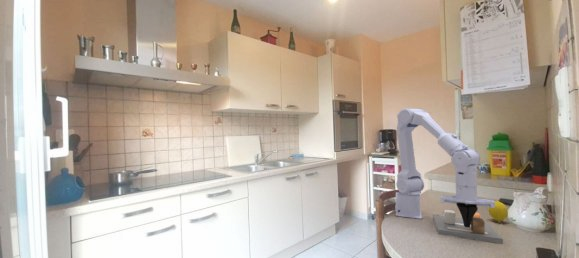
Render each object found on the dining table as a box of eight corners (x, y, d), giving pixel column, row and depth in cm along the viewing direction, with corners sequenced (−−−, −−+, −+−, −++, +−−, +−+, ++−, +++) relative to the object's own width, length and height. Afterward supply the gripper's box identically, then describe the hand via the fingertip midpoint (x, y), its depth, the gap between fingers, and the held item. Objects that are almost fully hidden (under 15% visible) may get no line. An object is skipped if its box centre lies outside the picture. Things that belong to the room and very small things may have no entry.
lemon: (511, 225, 89) (511, 203, 89) (494, 224, 90) (494, 202, 90) (501, 219, 94) (501, 199, 94) (485, 218, 95) (485, 198, 95)
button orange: (468, 219, 87) (468, 213, 87) (466, 216, 90) (466, 210, 90) (481, 221, 86) (481, 215, 86) (478, 217, 89) (478, 212, 89)
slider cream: (445, 223, 87) (445, 212, 87) (444, 220, 89) (444, 209, 89) (455, 224, 85) (455, 213, 85) (453, 221, 88) (453, 210, 88)
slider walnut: (473, 232, 79) (473, 220, 79) (470, 228, 81) (470, 217, 81) (484, 233, 77) (484, 221, 77) (482, 230, 80) (481, 218, 80)
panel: (438, 234, 82) (438, 226, 82) (433, 218, 96) (432, 212, 96) (502, 243, 74) (502, 235, 74) (486, 225, 89) (486, 218, 89)
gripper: (442, 185, 80) (443, 227, 80) (497, 190, 74) (498, 234, 74) (439, 181, 87) (440, 219, 87) (490, 185, 80) (491, 226, 80)
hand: (466, 226), depth 81 cm, fingers closed
